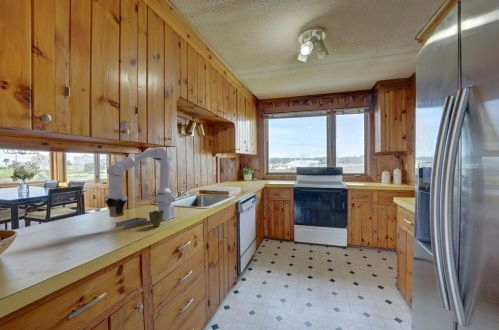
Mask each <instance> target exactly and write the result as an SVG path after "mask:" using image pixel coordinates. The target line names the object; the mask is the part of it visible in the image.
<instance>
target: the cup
mask: <svg viewBox="0 0 499 330" xmlns="http://www.w3.org/2000/svg"><path fill="white" fill-rule="evenodd" d="M163 213H164V211H163V210H162V211H160V212H158V209H157V210H152V211H148V216H149V221H150V223H151V224H152V226H153V227H155V228H157V227H160V226H161V223H162V222H163V221H164V220H163Z"/></svg>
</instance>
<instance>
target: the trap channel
mask: <svg viewBox="0 0 499 330" xmlns="http://www.w3.org/2000/svg"><path fill="white" fill-rule="evenodd" d="M146 223H148V217H141V216H137V217H133V218H129V219H124V220H121V221H118V222H115V228H120V227H123V226H124V229H125V230H127V229H130V228H132V227H134V228H135V227H136V226H140V225H143V224H146Z"/></svg>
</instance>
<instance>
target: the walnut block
mask: <svg viewBox="0 0 499 330" xmlns="http://www.w3.org/2000/svg"><path fill="white" fill-rule="evenodd" d="M124 207H125V206H124ZM124 207H123V210H122V213H121V214H117V212H116V206H112V207H110V210H109V217H110V218H118V217H122V216H124V215H125V214H124V212H125V211H124Z"/></svg>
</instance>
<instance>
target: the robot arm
mask: <svg viewBox="0 0 499 330" xmlns="http://www.w3.org/2000/svg"><path fill="white" fill-rule="evenodd" d="M147 158H151V159H153V160H155V161H157V162H158V163H159V165H160V166H159V189H158V190H157V194H156V196H155V201H156V202H157V210H158V212H160V211H162V210H163V211H164V213H163V220H162V221H167V220H170V219H174V218H176V216H175V205H174V204H173V203H172V202H173V199H174V197H173V195H172V194H173V193H172V191H171V189H170V164H171V163H170V162H171V160H170V158H169V155H168V151H167V150H166V149H165V148H164V147H153V148H152V147H151V148H150V149H146V150H145V151H143V152H141V153H139V154H137V155H135V156H134V157H131V156H130V157H129V156H127V157H124V159H122V160H119V161H116V162H115V164H110V165H108V167H107V169H106V173H107V174H108V190H109V191H108V194H105V195H104V199H105V202H104V203H106V205H107V207H108V209H109V210H108V211H110V207H112V206H116V212H117V214H121V213H122V210H123V207H125V204H126V203H127V200H128V196H127V195H123V177H122V176H123V174H124V172H126V171H128V170H130V169H132V168H134V167H136V165H137V163H139V162H141V161H143V160H145V159H146V160H147Z"/></svg>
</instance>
